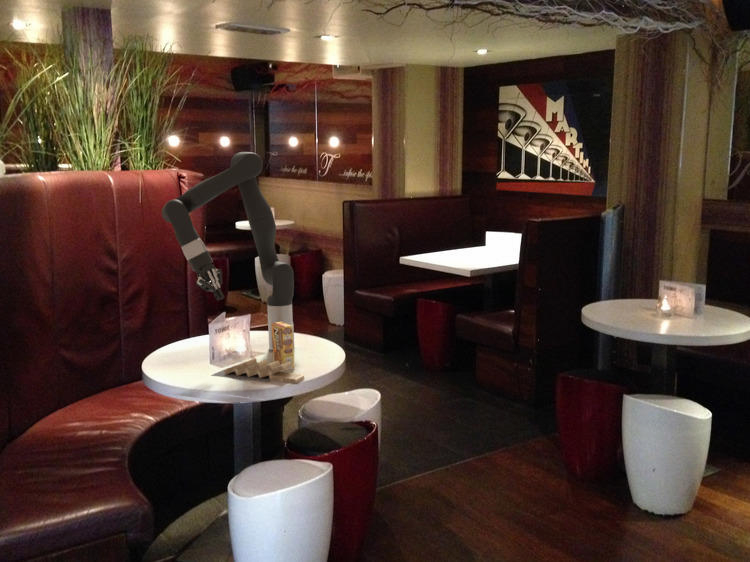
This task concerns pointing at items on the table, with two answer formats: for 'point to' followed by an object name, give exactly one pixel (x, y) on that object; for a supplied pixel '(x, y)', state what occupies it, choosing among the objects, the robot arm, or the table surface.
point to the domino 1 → (240, 366)
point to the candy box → (282, 343)
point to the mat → (242, 376)
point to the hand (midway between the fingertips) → (221, 299)
